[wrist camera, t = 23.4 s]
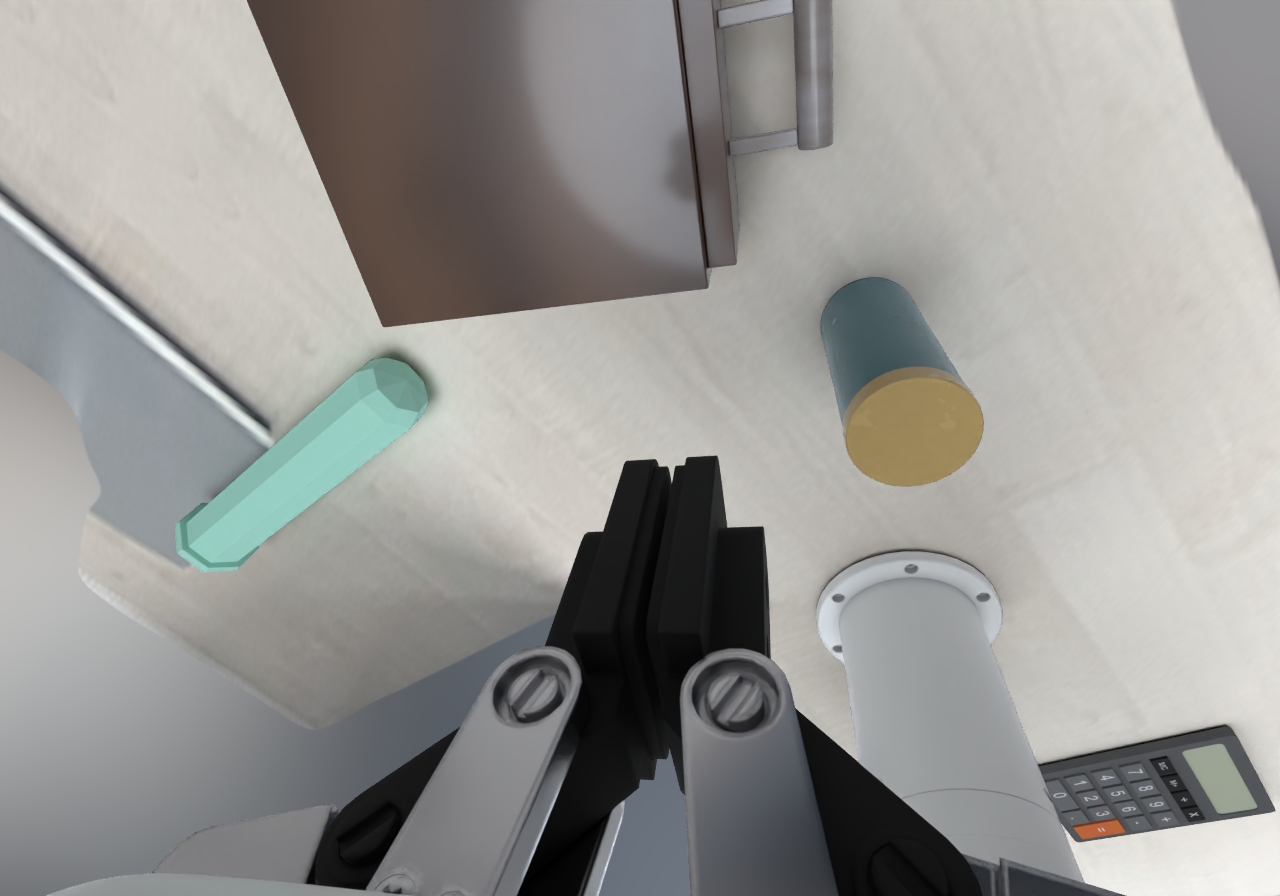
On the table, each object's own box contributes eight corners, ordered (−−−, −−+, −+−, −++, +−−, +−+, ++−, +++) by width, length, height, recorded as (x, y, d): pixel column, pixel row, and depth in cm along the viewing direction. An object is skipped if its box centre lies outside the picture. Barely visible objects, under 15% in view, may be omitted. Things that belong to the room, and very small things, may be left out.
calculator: (1026, 780, 52) (1237, 737, 46) (1022, 769, 53) (1229, 725, 46) (1077, 845, 56) (1278, 814, 50) (1073, 834, 57) (1270, 802, 50)
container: (354, 389, 34) (159, 559, 45) (441, 437, 38) (242, 583, 49) (372, 323, 38) (188, 494, 49) (450, 373, 42) (263, 521, 53)
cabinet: (682, -109, 25) (654, -168, 18) (718, 236, 33) (708, 289, 26) (357, -21, 29) (227, -42, 22) (455, 272, 36) (382, 328, 29)
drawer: (819, -130, 24) (839, -184, 18) (824, 213, 30) (840, 251, 25) (395, -19, 28) (305, -34, 22) (482, 262, 35) (429, 304, 29)
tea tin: (913, 359, 35) (976, 484, 25) (820, 367, 36) (845, 489, 26) (919, 270, 32) (992, 371, 22) (818, 282, 33) (845, 383, 23)
